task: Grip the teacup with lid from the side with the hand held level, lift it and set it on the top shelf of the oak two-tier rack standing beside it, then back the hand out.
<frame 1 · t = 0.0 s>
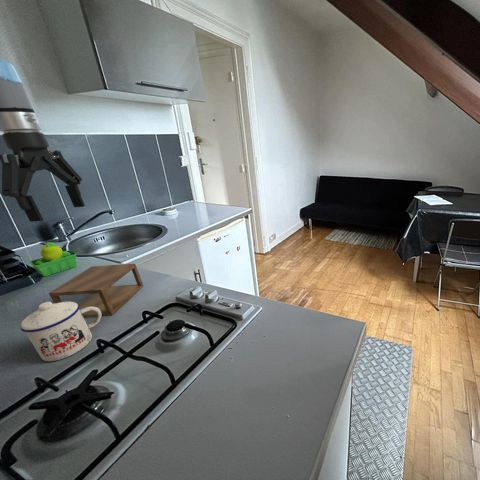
hand: (60, 213, 74), 24 cm above the worktop, tool pointing down, fingers open, 13 cm apart
teacup with lid: (77, 343, 60), on the worktop
rack: (106, 301, 75), on the worktop
fruit basket: (60, 270, 95), on the worktop
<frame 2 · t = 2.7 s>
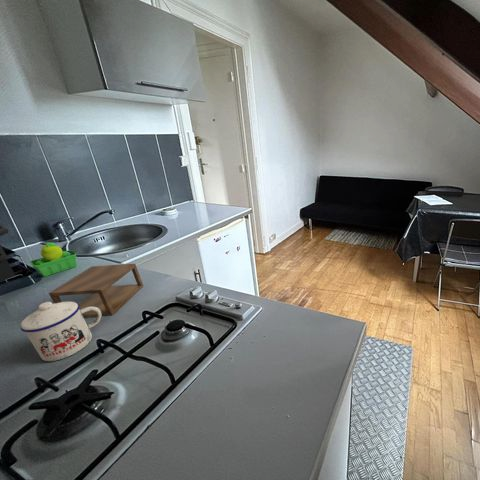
nothing on the worktop moved.
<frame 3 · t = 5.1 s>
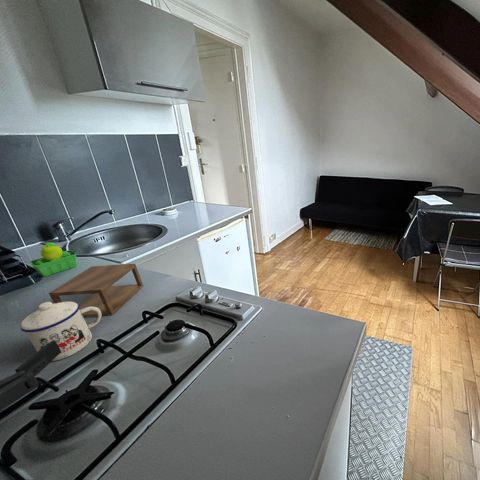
hand: (19, 350, 48), 7 cm above the worktop, tool horizontal, fingers open, 13 cm apart
nothing on the worktop moved.
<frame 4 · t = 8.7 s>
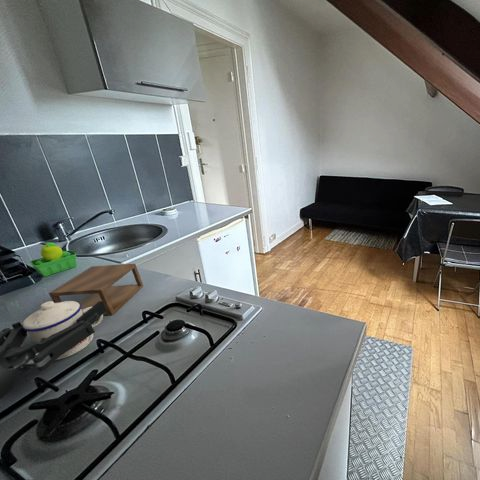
hand: (79, 307, 61), 7 cm above the worktop, tool horizontal, fingers closed on teacup with lid, 10 cm apart
teacup with lid: (78, 343, 60), on the worktop, touching gripper
everything else where it was.
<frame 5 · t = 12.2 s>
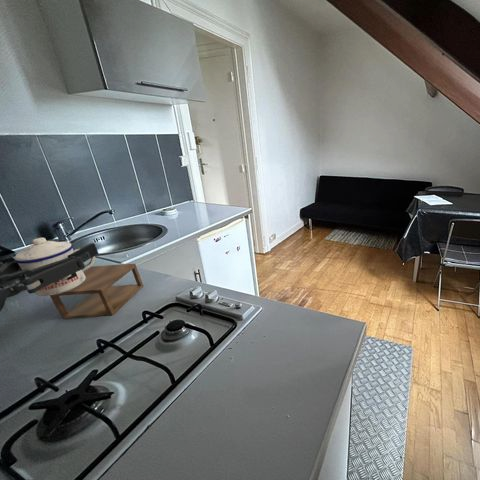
hand: (71, 250, 62), 19 cm above the worktop, tool horizontal, fingers closed on teacup with lid, 10 cm apart
teacup with lid: (70, 284, 61), point 12 cm above the worktop, touching gripper
everything else where it was.
when the fingers open (15 cm above the worktop, at t = 15.8 s): teacup with lid stays where it is, resting on rack.
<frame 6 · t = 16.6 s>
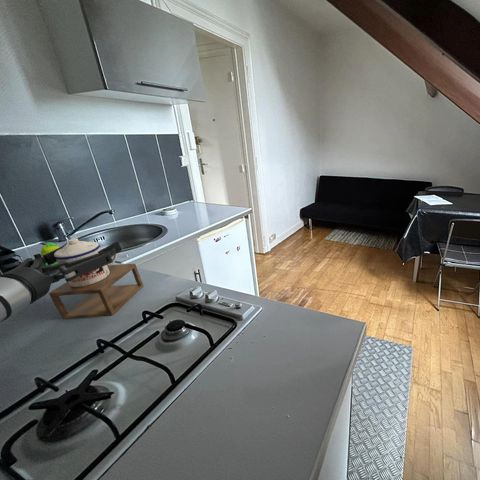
hand: (93, 247, 72), 15 cm above the worktop, tool horizontal, fingers open, 13 cm apart
teacup with lid: (97, 277, 72), point 8 cm above the worktop, touching rack
everything else where it was.
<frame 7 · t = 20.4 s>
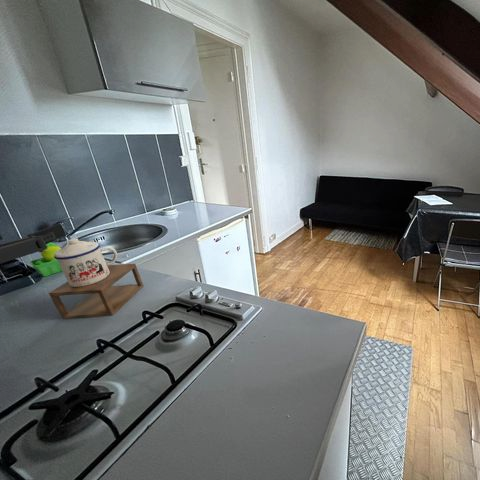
hand: (30, 231, 56), 25 cm above the worktop, tool horizontal, fingers open, 13 cm apart
nothing on the worktop moved.
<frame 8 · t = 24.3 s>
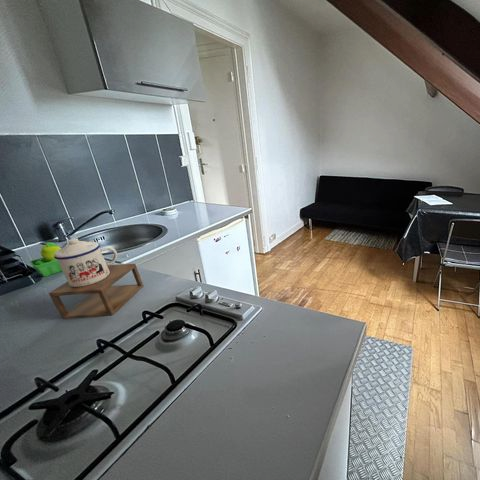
nothing on the worktop moved.
at the end: teacup with lid inside the target area on the rack (0.4 cm from its centre), point 7.8 cm above the rack's base; teacup with lid tilted 0°; the gripper is holding nothing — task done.
